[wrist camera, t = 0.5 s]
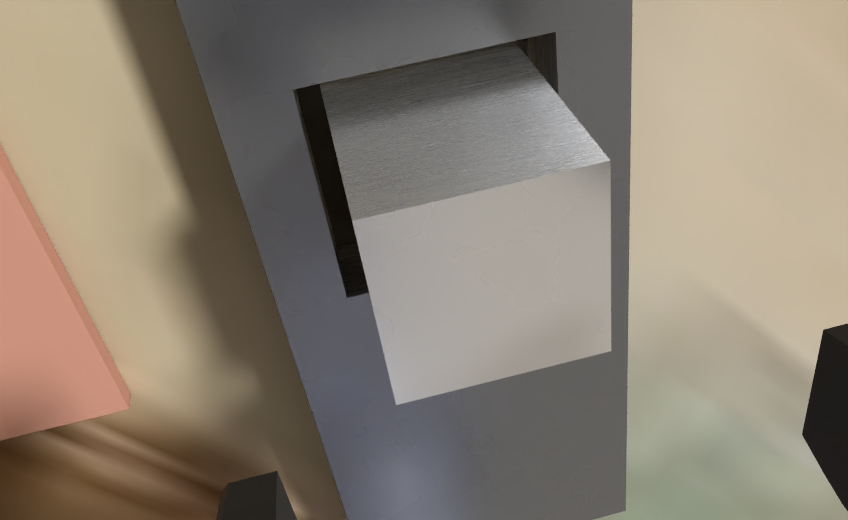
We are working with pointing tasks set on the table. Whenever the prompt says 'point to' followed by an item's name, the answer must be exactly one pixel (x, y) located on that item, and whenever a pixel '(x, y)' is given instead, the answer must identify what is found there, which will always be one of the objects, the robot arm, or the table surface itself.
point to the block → (344, 275)
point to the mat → (45, 330)
